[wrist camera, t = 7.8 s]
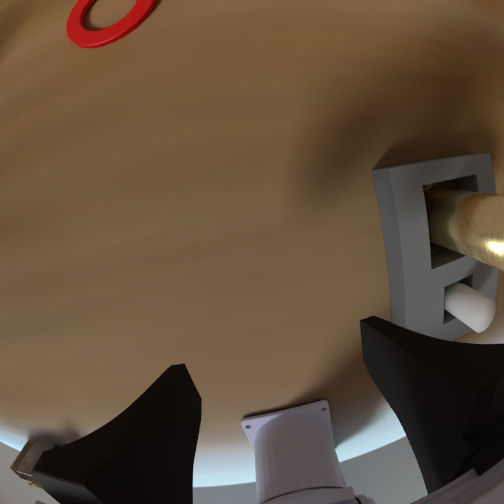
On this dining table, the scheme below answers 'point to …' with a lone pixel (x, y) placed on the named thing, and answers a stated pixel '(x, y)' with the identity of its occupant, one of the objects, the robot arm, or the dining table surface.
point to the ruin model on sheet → (30, 460)
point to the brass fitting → (467, 223)
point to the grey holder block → (439, 264)
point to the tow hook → (106, 35)
